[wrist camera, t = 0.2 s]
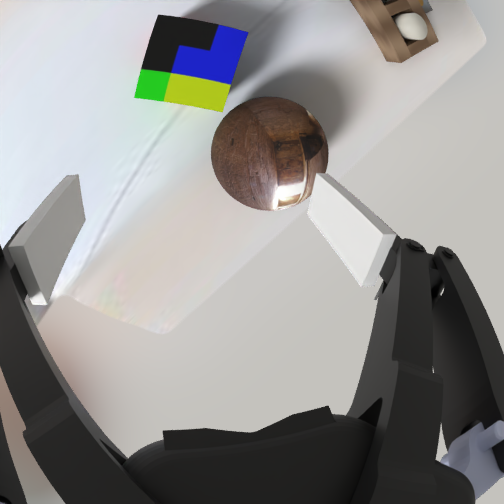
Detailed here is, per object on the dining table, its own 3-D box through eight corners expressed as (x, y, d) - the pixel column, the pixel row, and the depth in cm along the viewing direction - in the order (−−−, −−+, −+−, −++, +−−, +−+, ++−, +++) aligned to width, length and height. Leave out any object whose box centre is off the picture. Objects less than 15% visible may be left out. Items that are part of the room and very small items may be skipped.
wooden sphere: (233, 199, 46) (253, 253, 34) (189, 120, 36) (191, 144, 25) (313, 160, 44) (361, 199, 33) (281, 78, 35) (329, 83, 24)
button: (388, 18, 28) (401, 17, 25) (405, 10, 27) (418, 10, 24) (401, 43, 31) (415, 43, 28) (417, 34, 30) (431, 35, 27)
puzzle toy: (233, 42, 31) (248, 32, 23) (213, 104, 36) (222, 112, 28) (164, 29, 27) (158, 14, 19) (146, 92, 32) (134, 97, 25)
